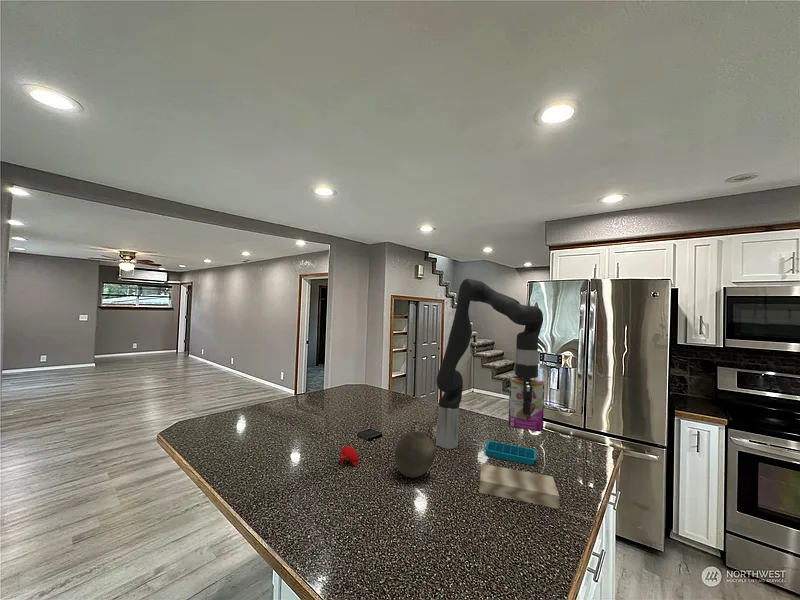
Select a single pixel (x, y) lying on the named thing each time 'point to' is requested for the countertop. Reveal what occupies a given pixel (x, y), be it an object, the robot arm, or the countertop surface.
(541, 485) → the birch stand
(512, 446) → the ice cube tray
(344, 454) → the cap
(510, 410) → the candy bar box
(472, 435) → the countertop surface
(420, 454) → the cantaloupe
